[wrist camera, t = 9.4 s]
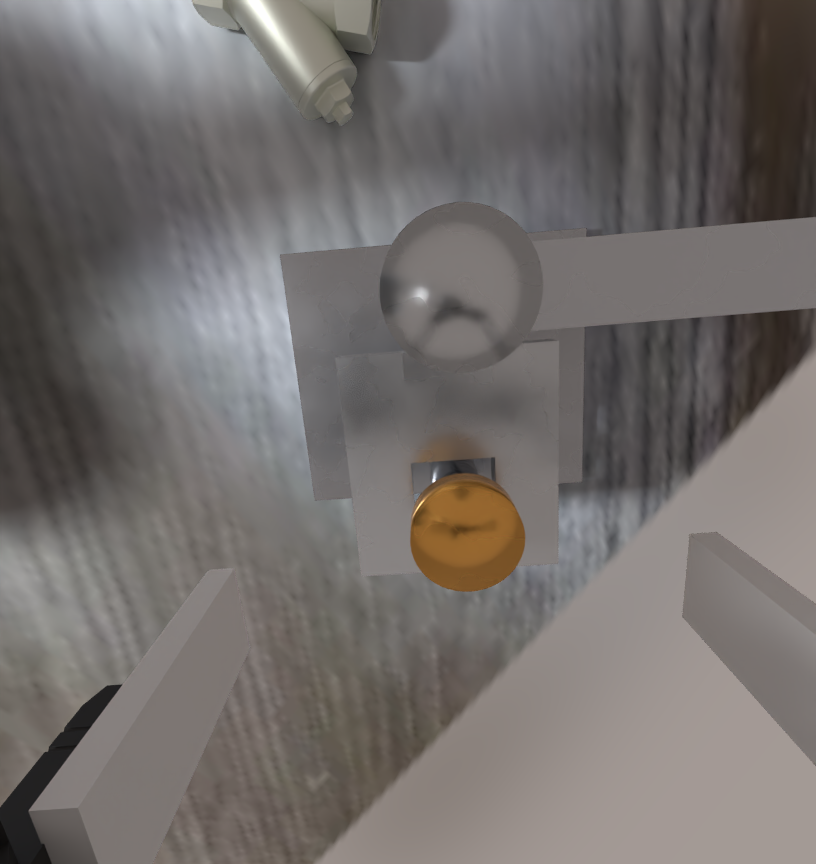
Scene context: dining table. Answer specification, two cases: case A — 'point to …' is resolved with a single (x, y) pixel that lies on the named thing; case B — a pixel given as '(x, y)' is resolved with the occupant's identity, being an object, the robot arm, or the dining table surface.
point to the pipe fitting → (305, 45)
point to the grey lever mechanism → (494, 350)
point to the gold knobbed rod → (465, 528)
